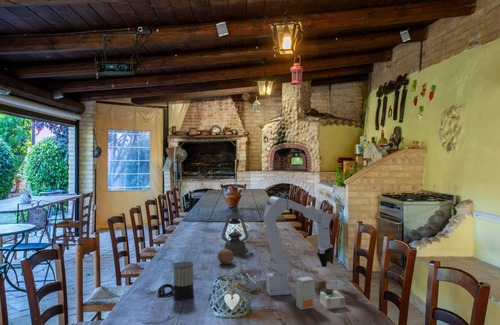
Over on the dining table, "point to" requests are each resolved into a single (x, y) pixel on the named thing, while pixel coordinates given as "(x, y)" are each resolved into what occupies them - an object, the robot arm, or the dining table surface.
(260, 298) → the dining table surface
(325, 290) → the plunger
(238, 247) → the lantern
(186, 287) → the milk frother
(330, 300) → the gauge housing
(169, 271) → the dining table surface
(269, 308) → the dining table surface
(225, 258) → the onion
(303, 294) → the skincare box
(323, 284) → the walnut block
